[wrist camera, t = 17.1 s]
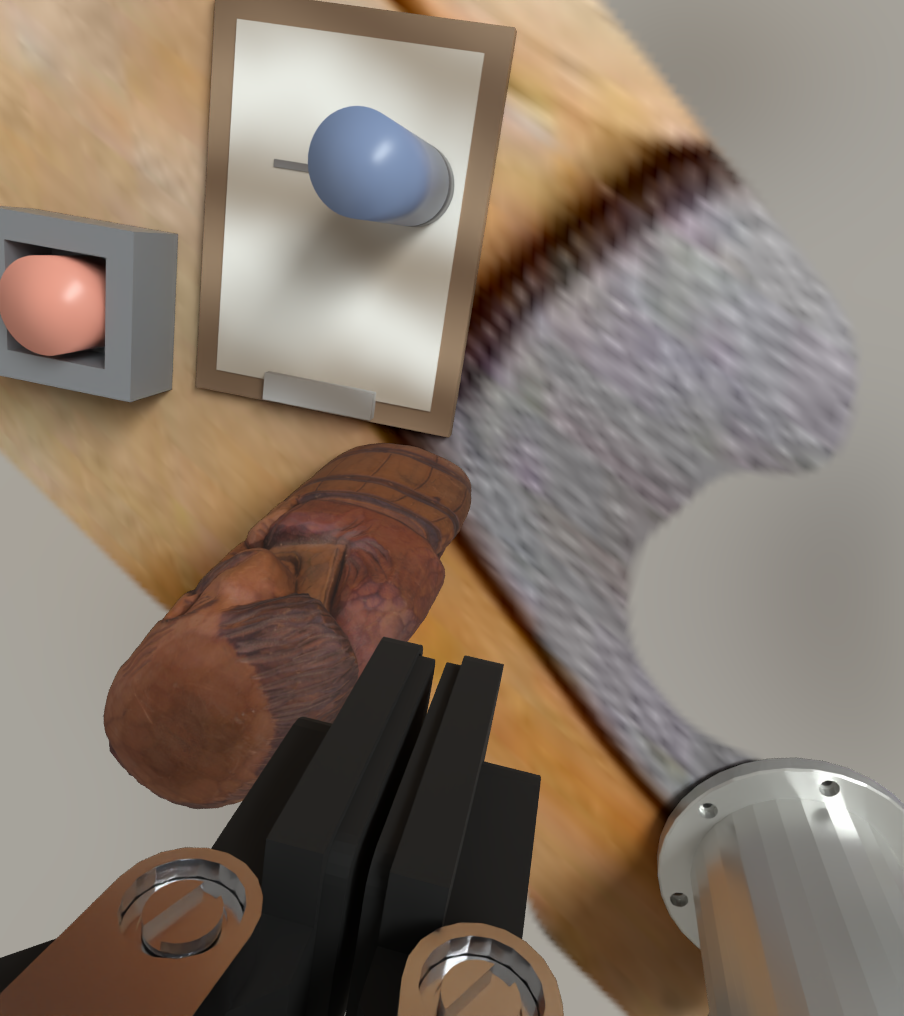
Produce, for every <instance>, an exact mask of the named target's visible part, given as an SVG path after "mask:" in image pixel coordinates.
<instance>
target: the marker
mask: <svg viewBox="0 0 904 1016" xmlns="http://www.w3.org/2000/svg"><path fill="white" fill-rule="evenodd" d="M308 171H309V176H310V180H311V183H312V185H313V187H314V190H315V192H316V193H317V195H318V196H319V198H320V199H321V200H322V202H323V203H324V204H325V205H326V206H327V207H329V208H330V209H331V210H332V211H334V212H336V213H337V214H339V215H342V216H344V217H348V218H353V219H360V220H366V221H373V222H380V223H387V224H394V225H401V226H408V227H422V226H426V225H429V224H431V223H433V222H435V221H436V220H438V219H439V218H440V217H441V216H442V215H443V214H444V213H445V212H446V210H447V209H448V207H449V205H450V203H451V201H452V198H453V193H454V175H453V171H452V168H451V166H450V163H449V162H448V160H447V158H446V157H445V156H444V155H443V154H442V153H441V152H440V151H439V150H438V149H437V148H435V147H434V146H432V145H431V144H429V143H428V142H426V141H424V140H423V139H421V138H420V137H418V136H417V135H415V134H414V133H412V132H410V131H409V130H407V129H406V128H404V127H403V126H401V125H400V124H398V123H396V122H395V121H393V120H392V119H390V118H389V117H387V116H385V115H384V114H382V113H381V112H379V111H377V110H375V109H372V108H369V107H364V106H349V107H345V108H342V109H339V110H337V111H335V112H334V113H332V114H330V115H329V116H328V117H327V118H326V119H325V120H324V121H323V122H322V123H321V124H320V125H319V127H318V128H317V130H316V131H315V133H314V135H313V138H312V140H311V143H310V147H309V152H308Z"/></svg>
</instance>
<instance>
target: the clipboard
mask: <svg viewBox="0 0 904 1016" xmlns="http://www.w3.org/2000/svg"><path fill="white" fill-rule="evenodd" d="M516 33H517V31H516V28H515V27H507V26H500V25H493V24H485V23H478V22H470V21H463V20H455V19H448V18H441V17H433V16H426V15H418V14H411V13H403V12H396V11H389V10H381V9H374V8H366V7H359V6H351V5H344V4H337V3H329V2H322V1H314V0H215V14H214V34H213V54H212V74H211V94H210V114H209V134H208V154H207V174H206V194H205V214H204V234H203V253H202V273H201V293H200V313H199V333H198V353H197V373H196V387H199V388H204V389H209V390H214V391H219V392H224V393H229V394H234V395H239V396H244V397H249V398H254V399H259V400H264V401H269V402H274V403H279V404H284V405H289V406H294V407H299V408H304V409H309V410H314V411H319V412H324V413H329V414H334V415H339V416H344V417H349V418H354V419H359V420H364V421H369V422H374V423H379V424H384V425H389V426H394V427H399V428H404V429H409V430H414V431H419V432H424V433H429V434H434V435H439V436H444V437H450V436H451V434H452V428H453V422H454V416H455V409H456V403H457V397H458V391H459V385H460V379H461V372H462V366H463V360H464V354H465V348H466V342H467V335H468V329H469V323H470V317H471V311H472V305H473V298H474V292H475V286H476V280H477V274H478V268H479V262H480V255H481V249H482V243H483V237H484V231H485V225H486V218H487V212H488V206H489V200H490V194H491V188H492V181H493V175H494V169H495V163H496V157H497V151H498V144H499V138H500V132H501V126H502V120H503V114H504V107H505V101H506V95H507V89H508V83H509V77H510V70H511V64H512V58H513V52H514V46H515V40H516ZM349 106H364V107H369V108H372V109H375V110H377V111H379V112H381V113H382V114H384V115H385V116H387V117H389V118H390V119H392V120H393V121H395V122H396V123H398V124H400V125H401V126H403V127H404V128H406V129H407V130H409V131H410V132H412V133H414V134H415V135H417V136H418V137H420V138H421V139H423V140H424V141H426V142H428V143H429V144H431V145H432V146H434V147H435V148H437V149H438V150H439V151H440V152H441V153H442V154H443V155H444V156H445V157H446V158H447V160H448V162H449V163H450V166H451V168H452V171H453V175H454V193H453V198H452V201H451V203H450V205H449V207H448V209H447V210H446V212H445V213H444V214H443V215H442V216H441V217H440V218H439V219H438V220H436V221H435V222H433V223H431V224H429V225H426V226H422V227H408V226H401V225H394V224H387V223H380V222H373V221H366V220H360V219H353V218H348V217H344V216H342V215H339V214H337V213H336V212H334V211H332V210H331V209H330V208H329V207H327V206H326V205H325V204H324V203H323V202H322V200H321V199H320V198H319V196H318V195H317V193H316V192H315V190H314V187H313V185H312V183H311V180H310V176H309V171H308V152H309V147H310V143H311V140H312V138H313V135H314V133H315V131H316V130H317V128H318V127H319V125H320V124H321V123H322V122H323V121H324V120H325V119H326V118H327V117H328V116H329V115H330V114H332V113H334V112H335V111H337V110H339V109H342V108H345V107H349Z"/></svg>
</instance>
